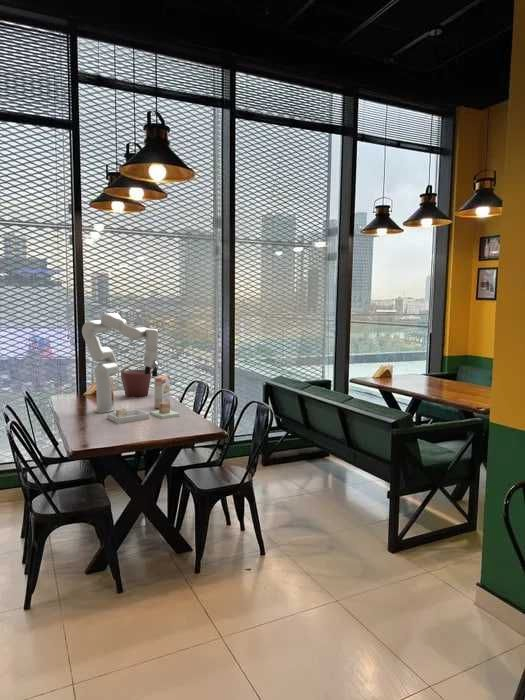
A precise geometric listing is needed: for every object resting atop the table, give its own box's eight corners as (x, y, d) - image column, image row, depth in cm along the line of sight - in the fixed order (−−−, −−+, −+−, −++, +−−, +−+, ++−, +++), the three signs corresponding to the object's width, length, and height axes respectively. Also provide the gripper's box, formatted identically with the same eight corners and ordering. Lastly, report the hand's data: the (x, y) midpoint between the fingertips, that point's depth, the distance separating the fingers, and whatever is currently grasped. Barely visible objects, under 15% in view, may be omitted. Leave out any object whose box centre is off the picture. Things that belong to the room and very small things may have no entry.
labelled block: (159, 412, 315) (158, 402, 314) (166, 411, 318) (166, 401, 318) (162, 413, 311) (162, 404, 310) (170, 412, 314) (169, 403, 314)
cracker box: (162, 409, 333) (162, 378, 331) (154, 408, 334) (153, 377, 332) (170, 404, 346) (170, 375, 344) (162, 404, 348) (162, 374, 345)
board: (150, 414, 317) (150, 411, 317) (167, 411, 325) (167, 408, 324) (162, 419, 305) (162, 416, 305) (179, 416, 312) (179, 413, 312)
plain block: (115, 419, 302) (115, 409, 302) (123, 418, 306) (123, 408, 305) (119, 420, 299) (119, 411, 298) (127, 419, 302) (126, 409, 301)
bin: (107, 419, 305) (107, 413, 305) (138, 414, 317) (138, 409, 317) (118, 424, 293) (118, 418, 292) (149, 419, 305) (149, 413, 305)
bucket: (151, 392, 393) (150, 360, 390) (156, 397, 373) (156, 364, 370) (119, 394, 383) (118, 362, 380) (123, 399, 363) (122, 365, 360)
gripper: (139, 347, 315) (139, 373, 317) (152, 350, 302) (151, 378, 304) (150, 346, 320) (150, 372, 322) (163, 349, 307) (162, 377, 309)
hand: (150, 375), depth 313 cm, fingers open, 9 cm apart
